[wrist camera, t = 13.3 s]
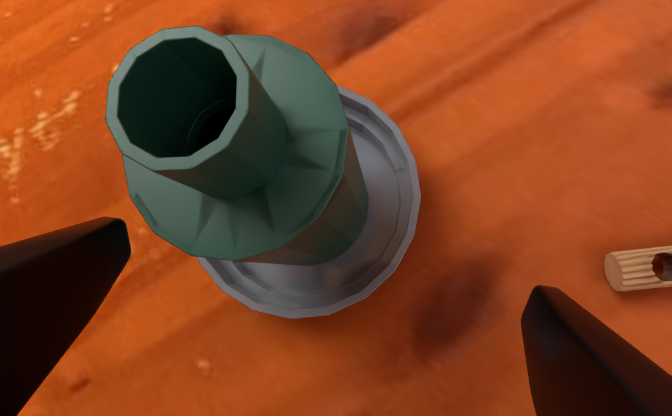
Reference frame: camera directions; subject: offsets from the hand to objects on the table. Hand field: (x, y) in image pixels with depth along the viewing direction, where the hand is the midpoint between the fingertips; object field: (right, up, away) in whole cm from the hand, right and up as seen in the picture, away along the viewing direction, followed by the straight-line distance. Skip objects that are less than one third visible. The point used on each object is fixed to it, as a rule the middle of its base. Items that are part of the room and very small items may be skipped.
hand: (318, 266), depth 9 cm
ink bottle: (-1, +1, +13) cm, 13 cm away
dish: (-1, +1, +14) cm, 14 cm away
